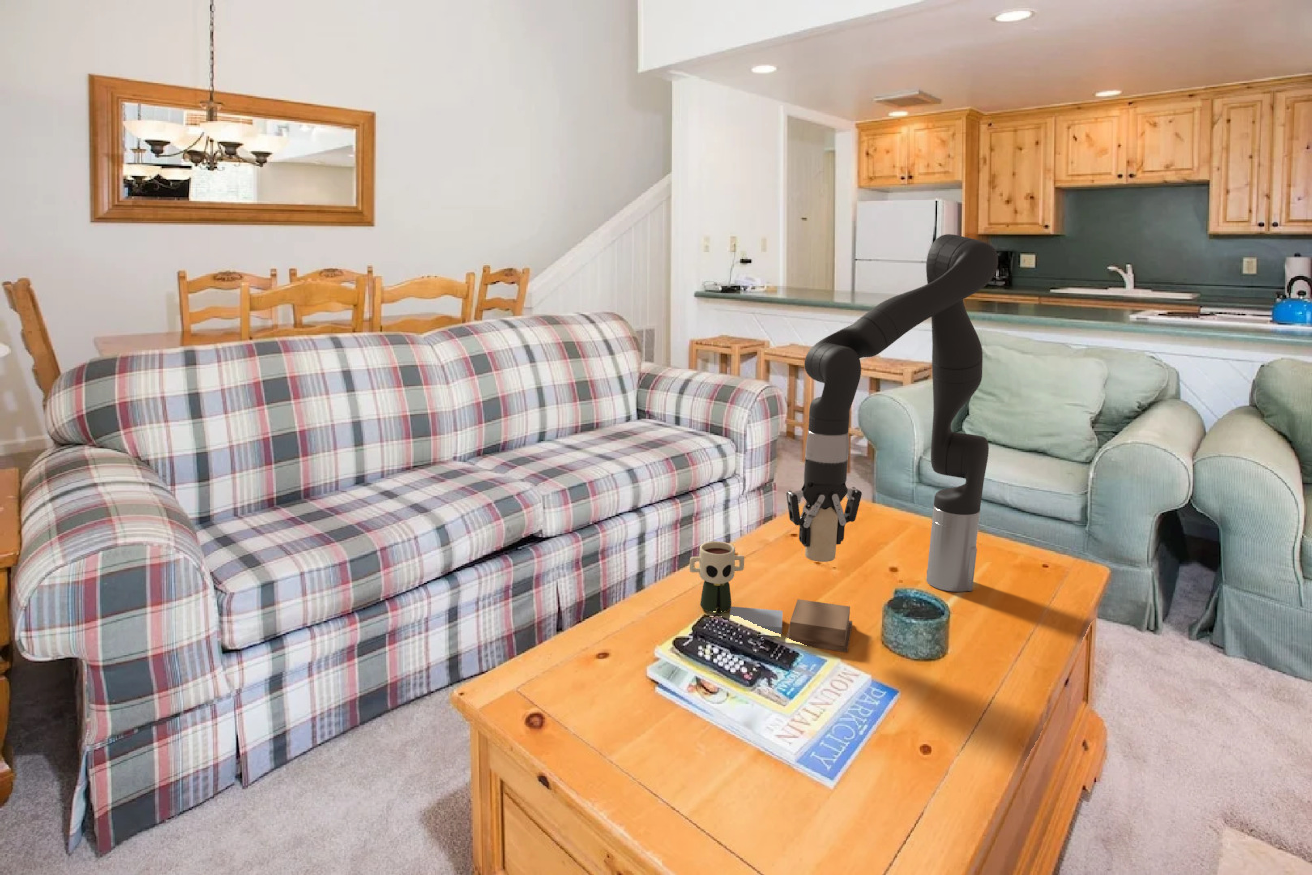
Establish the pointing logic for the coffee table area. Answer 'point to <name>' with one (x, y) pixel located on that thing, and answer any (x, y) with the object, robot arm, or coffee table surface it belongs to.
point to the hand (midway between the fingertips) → (820, 543)
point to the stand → (820, 625)
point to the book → (760, 617)
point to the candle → (823, 536)
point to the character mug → (716, 574)
